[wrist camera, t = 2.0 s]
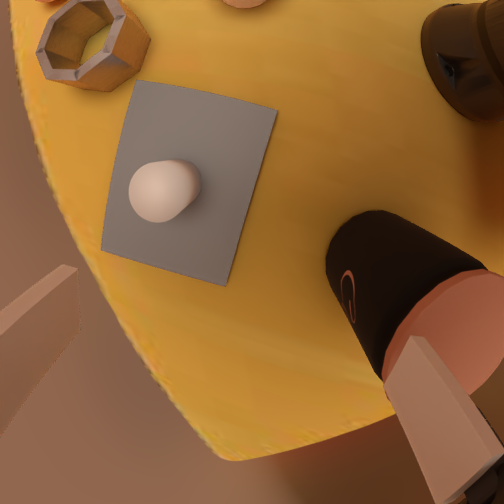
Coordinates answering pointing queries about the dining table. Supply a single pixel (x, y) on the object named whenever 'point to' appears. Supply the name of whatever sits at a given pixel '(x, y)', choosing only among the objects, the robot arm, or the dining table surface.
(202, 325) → the dining table surface
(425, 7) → the dining table surface
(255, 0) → the tan cup
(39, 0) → the egg
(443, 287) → the coffee jar
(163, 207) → the grey plate with knob
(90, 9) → the mug
